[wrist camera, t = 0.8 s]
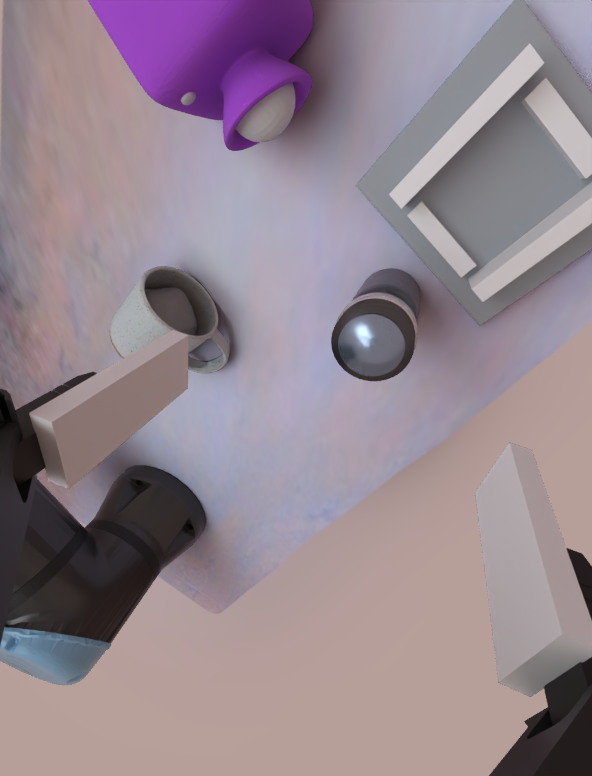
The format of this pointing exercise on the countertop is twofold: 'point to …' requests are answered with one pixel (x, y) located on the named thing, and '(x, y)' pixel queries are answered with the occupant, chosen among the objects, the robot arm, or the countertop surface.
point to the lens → (378, 327)
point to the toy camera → (217, 59)
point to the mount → (494, 169)
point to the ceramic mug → (168, 316)
